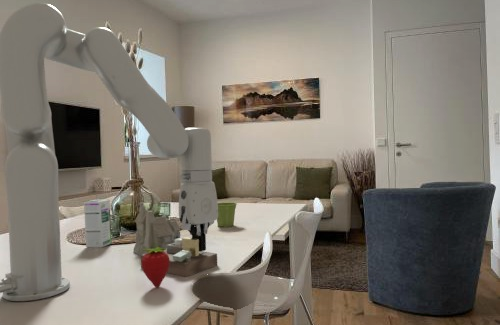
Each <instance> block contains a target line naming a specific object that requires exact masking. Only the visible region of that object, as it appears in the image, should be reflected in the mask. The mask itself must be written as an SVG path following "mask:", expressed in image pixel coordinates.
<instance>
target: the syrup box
mask: <svg viewBox="0 0 500 325" xmlns="http://www.w3.org/2000/svg"><path fill="white" fill-rule="evenodd" d="M110 202H111V201H110V199H106V198H101V199H99V198H98V199H93V200H89V201H84V202H83V209H84V210H83V211H84V230H85V244H86V246H85V247H86V248H97V249H98V248H101V249H102V248H104V247H106V246H108V245H112V243H113V240H112V238H113V237H112V236H113V235H112V221H111V219H112V217H111V203H110Z"/></svg>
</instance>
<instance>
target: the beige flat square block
mask: <svg viewBox="0 0 500 325" xmlns="http://www.w3.org/2000/svg"><path fill="white" fill-rule="evenodd" d="M181 238H182V247H183V250H187V251H191V254H192V256H195V257H196V256H199V239H194V238H192V237H186V236H185V237H181Z"/></svg>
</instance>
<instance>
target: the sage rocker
mask: <svg viewBox="0 0 500 325" xmlns="http://www.w3.org/2000/svg"><path fill="white" fill-rule="evenodd" d="M191 256H192V254H191V251H187V250H182V251H180V252H178V253H176V254H175V255H173V260H174V261H179V262H182V261H184V260H185V259H186V257H191Z"/></svg>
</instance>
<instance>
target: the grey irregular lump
mask: <svg viewBox="0 0 500 325" xmlns="http://www.w3.org/2000/svg"><path fill="white" fill-rule="evenodd" d="M138 204H139V207H138V211H139V213H138V214H137V216H136V218H135V219H134V222H135V223H136V224H135V225H136V232H135V245H134V247H133V254H136V255H139V256H141V255H143V254H147V253H148V252H149V251H142V250H145V249H154V250H155V248H157V247H159V248H160V249H165V248H167V245H169V244H173V243H175V239H178V238H181V232H180V231H181V230H182V229H181V226H180V225H179V223H178V221H177V220H170V219H167V215H164V214H163V215H162V216H158V217H155V215H154V211H153V210H149V209H146V206H145V205H144V202H143V201H141V202H139V203H138ZM152 241H153V242H154V243H155V244H156V245H157V246H156V245H155V244H154V243H153V242H152Z"/></svg>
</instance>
